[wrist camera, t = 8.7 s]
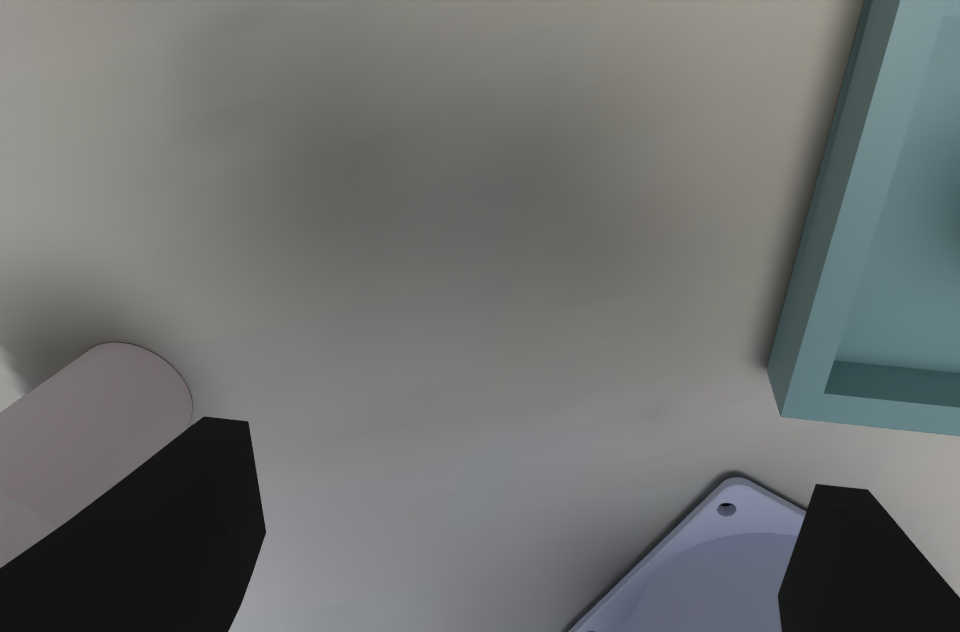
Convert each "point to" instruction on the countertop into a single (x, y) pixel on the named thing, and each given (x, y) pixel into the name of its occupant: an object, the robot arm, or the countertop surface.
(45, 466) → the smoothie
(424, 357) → the countertop surface
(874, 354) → the tray
